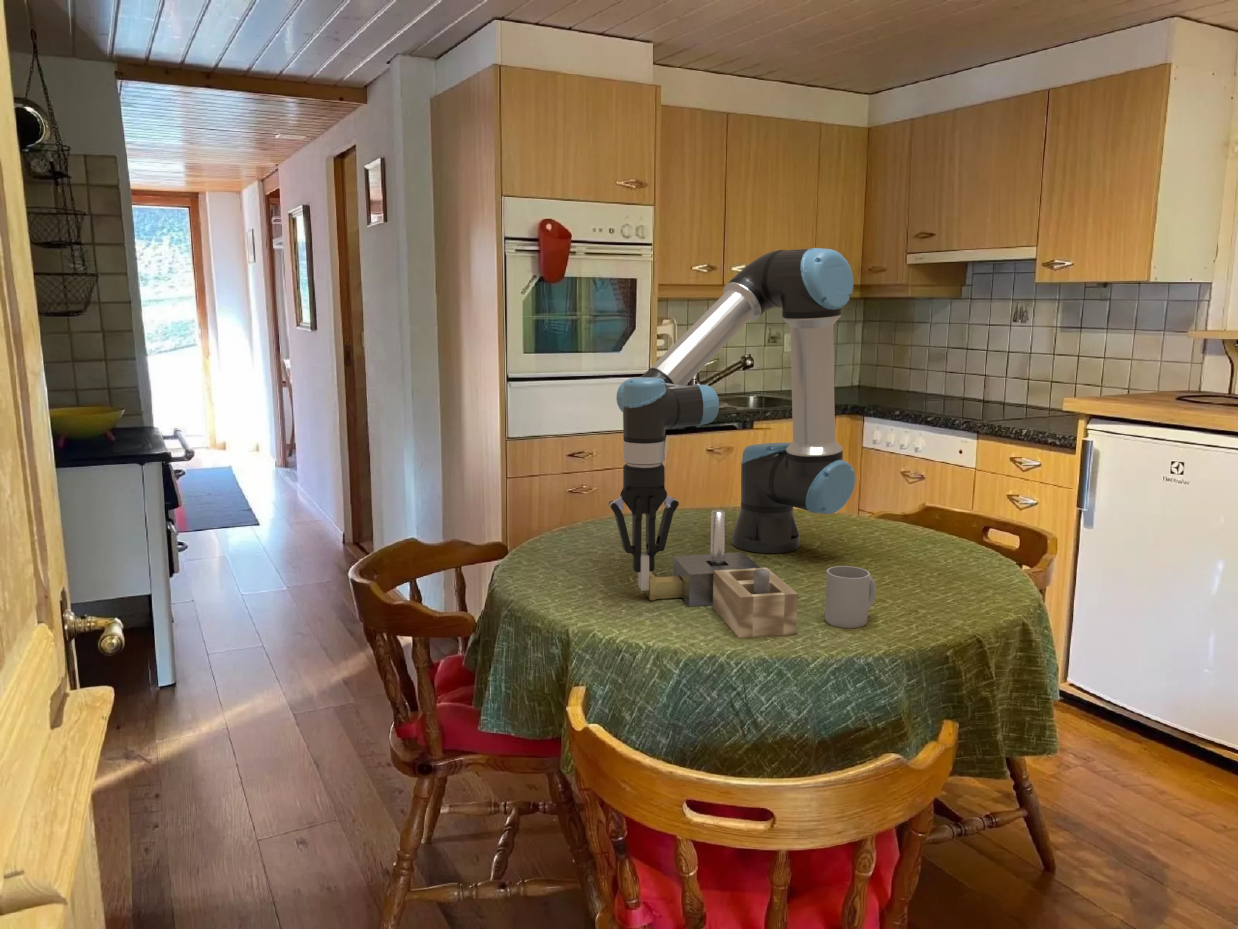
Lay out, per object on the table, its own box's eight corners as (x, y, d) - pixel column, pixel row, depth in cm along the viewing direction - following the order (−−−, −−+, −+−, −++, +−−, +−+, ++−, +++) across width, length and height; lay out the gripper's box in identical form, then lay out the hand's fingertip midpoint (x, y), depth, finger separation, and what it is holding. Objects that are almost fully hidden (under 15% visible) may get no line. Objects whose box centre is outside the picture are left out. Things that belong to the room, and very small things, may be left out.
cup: (815, 618, 162) (817, 569, 160) (858, 609, 166) (861, 561, 165) (844, 631, 155) (846, 580, 154) (888, 621, 160) (890, 572, 158)
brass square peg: (696, 590, 176) (696, 568, 175) (702, 597, 172) (703, 575, 171) (644, 593, 174) (645, 571, 173) (650, 600, 170) (650, 578, 169)
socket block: (741, 581, 182) (742, 552, 181) (762, 601, 170) (763, 570, 169) (672, 585, 179) (673, 556, 178) (689, 606, 168) (689, 574, 166)
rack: (765, 604, 169) (767, 551, 167) (796, 633, 154) (798, 576, 152) (712, 607, 167) (713, 554, 165) (739, 637, 152) (740, 579, 151)
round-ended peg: (721, 591, 176) (723, 509, 173) (725, 595, 174) (727, 512, 171) (707, 591, 176) (709, 510, 173) (711, 596, 173) (713, 513, 170)
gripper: (673, 458, 172) (672, 579, 177) (604, 461, 170) (605, 584, 174) (684, 466, 165) (682, 592, 169) (612, 468, 162) (612, 596, 167)
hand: (643, 588), depth 172 cm, fingers closed
